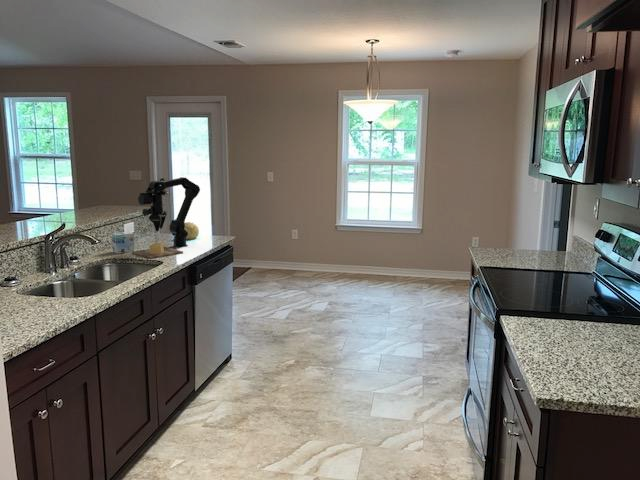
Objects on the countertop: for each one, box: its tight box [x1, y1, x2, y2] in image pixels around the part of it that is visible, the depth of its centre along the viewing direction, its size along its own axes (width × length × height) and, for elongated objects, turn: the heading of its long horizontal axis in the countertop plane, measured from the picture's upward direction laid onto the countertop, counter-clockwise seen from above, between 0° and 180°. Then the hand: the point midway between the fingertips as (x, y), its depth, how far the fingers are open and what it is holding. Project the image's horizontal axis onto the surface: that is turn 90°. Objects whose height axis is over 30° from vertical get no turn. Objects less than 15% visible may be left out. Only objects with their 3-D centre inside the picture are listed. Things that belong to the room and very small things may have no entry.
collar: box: [149, 242, 165, 254], centre depth 283 cm, size 6×6×5 cm
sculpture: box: [184, 221, 200, 240], centre depth 331 cm, size 12×12×11 cm
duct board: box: [131, 246, 184, 260], centre depth 287 cm, size 20×20×1 cm
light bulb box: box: [111, 231, 136, 254], centre depth 290 cm, size 11×7×11 cm, turn 129°
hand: (159, 229), depth 294 cm, fingers open, 9 cm apart
